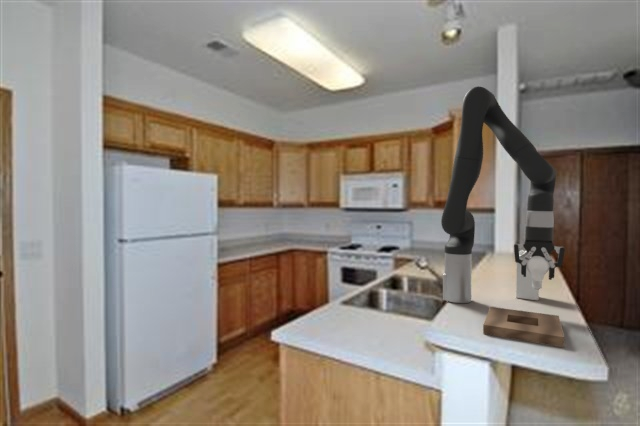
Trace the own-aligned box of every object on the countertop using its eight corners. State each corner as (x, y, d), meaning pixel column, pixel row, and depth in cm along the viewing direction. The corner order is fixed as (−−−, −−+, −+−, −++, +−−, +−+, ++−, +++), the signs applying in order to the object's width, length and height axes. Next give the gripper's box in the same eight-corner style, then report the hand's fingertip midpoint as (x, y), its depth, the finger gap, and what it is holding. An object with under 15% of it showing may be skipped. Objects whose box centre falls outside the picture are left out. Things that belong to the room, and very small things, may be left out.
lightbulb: (541, 292, 109) (542, 257, 109) (521, 288, 115) (522, 254, 115) (553, 290, 112) (554, 255, 112) (533, 286, 118) (534, 253, 118)
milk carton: (538, 296, 136) (539, 247, 135) (538, 301, 130) (539, 248, 129) (517, 294, 140) (517, 245, 139) (516, 298, 134) (516, 247, 133)
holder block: (483, 333, 96) (483, 324, 96) (490, 314, 113) (490, 306, 113) (564, 347, 87) (564, 337, 87) (558, 324, 104) (558, 315, 104)
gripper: (513, 224, 113) (511, 277, 114) (568, 227, 106) (565, 283, 107) (513, 223, 120) (512, 273, 120) (565, 226, 113) (563, 278, 113)
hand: (537, 277), depth 113 cm, fingers closed on lightbulb, 6 cm apart
